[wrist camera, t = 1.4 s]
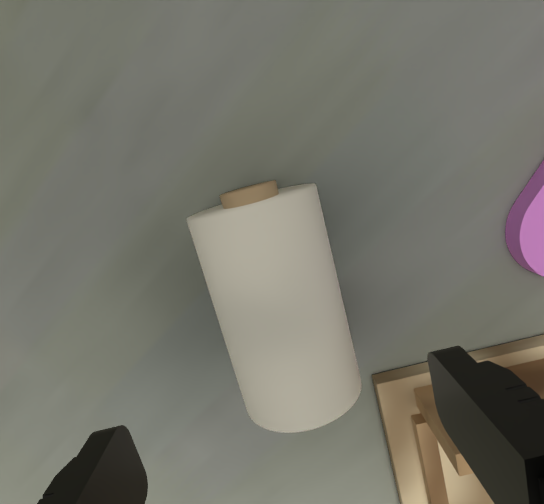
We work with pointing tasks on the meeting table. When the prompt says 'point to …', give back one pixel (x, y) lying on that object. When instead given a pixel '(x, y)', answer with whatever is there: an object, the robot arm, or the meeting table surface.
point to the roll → (279, 304)
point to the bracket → (528, 225)
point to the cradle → (441, 426)
